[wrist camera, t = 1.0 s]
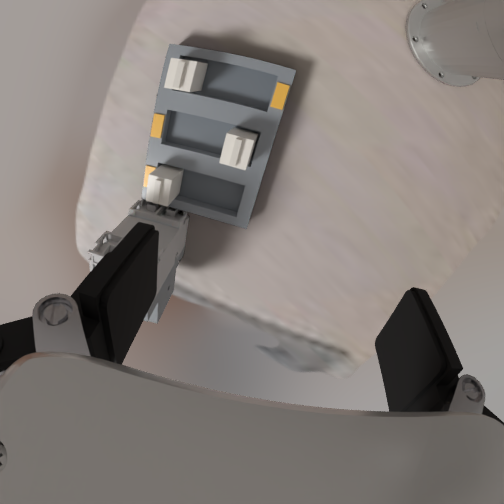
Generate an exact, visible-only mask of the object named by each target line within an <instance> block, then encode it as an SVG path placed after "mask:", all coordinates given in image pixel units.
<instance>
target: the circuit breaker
mask: <svg viewBox="0 0 504 504" xmlns="http://www.w3.org/2000/svg"><path fill="white" fill-rule="evenodd" d="M179 212H180V210H179V209H173V208H171V207H169V206H168V207H167V206H164V205H160V204H153V202H149V203H148V201H146V200H144V199H142V200H138V201H137V202H136V203H135V204H134V205H133V206H132V207H131V208H130V209H129V213H128V214H129V215H128V216H127V217H126V218H125V219H124V220H123V221H122V222H121V223H120V224H119V225H118V226H117V227H116V228H115V229H114V230H113V231H112V232H109V231H106V232H105V233H104V234H103V235H102V236H101V237H100V238H99V239H98V240H97V241H96V242H95V248H94V249H93V250H89V251H88V254H91V258H90V259H89V265H90V272H91V271H92V270H93V268H94V267H95V266H96V265H97V264H98V262H99V261H100V260H101V259H102V258H103V257H104V256H105V254H107V253H108V252H112V251H113V249H114V248H115V247H116V246H117V245H118V244H119V243H120V241H121V240H122V239H123V238H124V237H125V236H126V235H127V234H128V232H129V231H130V230H131V229H132V228H133V227H134V226H135V225H136V224H137V223H138V222H142V223H147V224H151V225H154V226H155V230H158V231H159V245H158V266H157V292H156V296H155V299H154V301H153V303H152V305H151V307H150V309H149V310H148V312H147V314H146V316H145V318H144V320H145V321H147V322H148V321H151V322H154V323H158V321H159V319H160V317H161V315H162V313H163V311H164V309H165V307H166V305H167V303H168V301H169V299H170V297H171V295H172V293H173V291H174V282H175V274H176V268H177V266H178V261H180V260H181V258H182V257H183V255H184V249H185V242H186V235H187V228H188V222H189V216H187V212H186V211H184V212H183V215H181V214H179ZM103 240H104V244H103Z"/></svg>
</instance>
